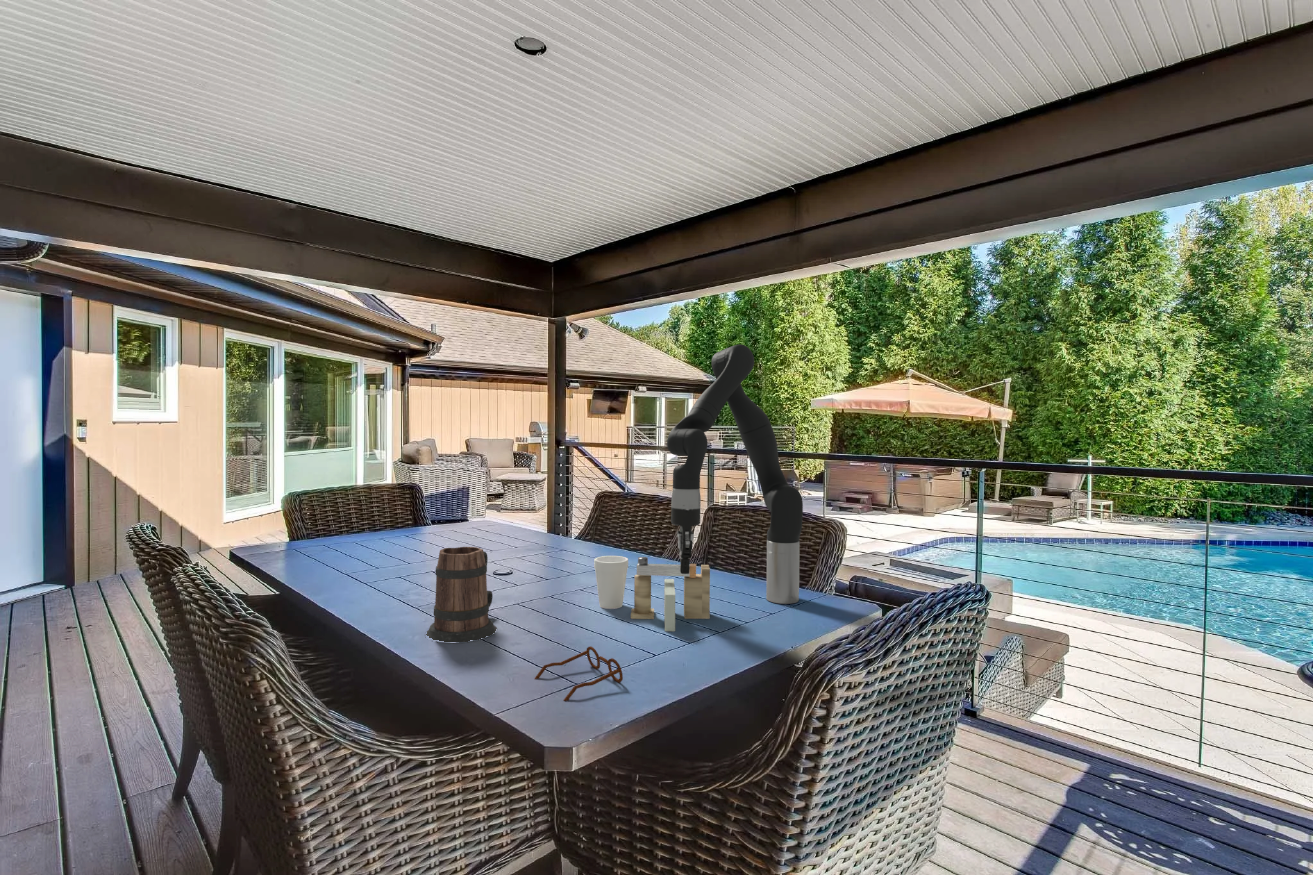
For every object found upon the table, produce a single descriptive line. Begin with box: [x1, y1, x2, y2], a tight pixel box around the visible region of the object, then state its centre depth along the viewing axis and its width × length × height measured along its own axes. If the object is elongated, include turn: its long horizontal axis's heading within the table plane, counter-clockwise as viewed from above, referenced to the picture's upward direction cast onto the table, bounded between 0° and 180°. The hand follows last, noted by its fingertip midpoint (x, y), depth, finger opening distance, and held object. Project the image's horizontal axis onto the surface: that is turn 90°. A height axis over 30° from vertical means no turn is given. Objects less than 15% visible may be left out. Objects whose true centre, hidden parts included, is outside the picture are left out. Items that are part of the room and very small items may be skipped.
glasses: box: [533, 645, 624, 702], centre depth 128 cm, size 13×13×5 cm
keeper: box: [683, 564, 711, 620], centre depth 172 cm, size 5×6×13 cm
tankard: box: [426, 546, 498, 643], centre depth 161 cm, size 24×17×20 cm
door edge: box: [663, 578, 676, 632], centre depth 167 cm, size 16×2×9 cm, turn 0°
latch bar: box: [636, 556, 697, 578], centre depth 172 cm, size 16×3×5 cm, turn 85°
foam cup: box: [593, 555, 629, 610], centre depth 181 cm, size 10×9×13 cm
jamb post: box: [630, 574, 655, 620], centre depth 172 cm, size 6×6×10 cm
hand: (684, 573), depth 168 cm, fingers closed
